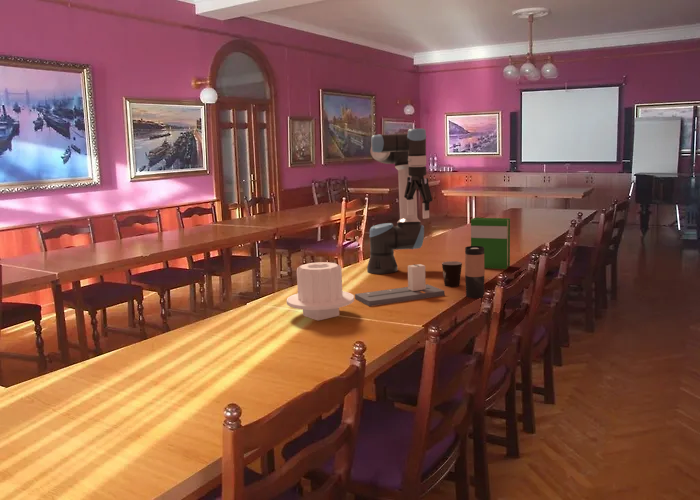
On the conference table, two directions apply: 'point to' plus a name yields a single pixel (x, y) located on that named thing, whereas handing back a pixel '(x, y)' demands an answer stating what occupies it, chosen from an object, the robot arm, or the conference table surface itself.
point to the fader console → (397, 295)
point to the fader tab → (416, 277)
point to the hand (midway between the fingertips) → (418, 216)
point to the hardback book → (492, 240)
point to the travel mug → (474, 271)
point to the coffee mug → (452, 273)
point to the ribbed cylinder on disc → (320, 291)
